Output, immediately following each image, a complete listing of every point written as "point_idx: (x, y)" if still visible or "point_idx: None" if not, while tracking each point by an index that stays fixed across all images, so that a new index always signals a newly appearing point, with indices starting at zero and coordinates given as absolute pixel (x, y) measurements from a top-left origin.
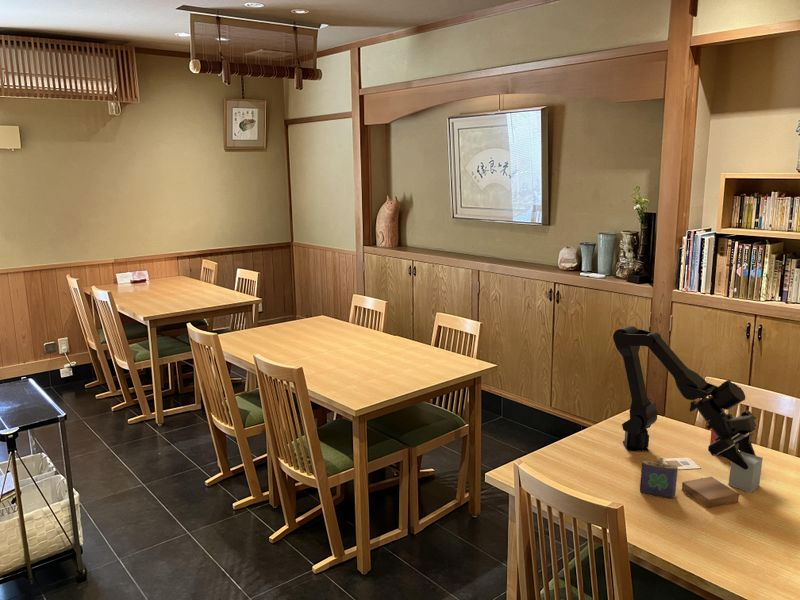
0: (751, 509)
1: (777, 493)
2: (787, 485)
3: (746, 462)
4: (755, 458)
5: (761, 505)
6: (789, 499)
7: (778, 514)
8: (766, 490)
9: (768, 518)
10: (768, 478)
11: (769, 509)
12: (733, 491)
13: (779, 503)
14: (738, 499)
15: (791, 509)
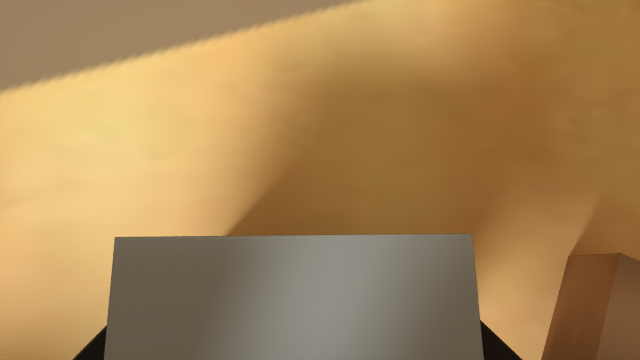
0: (581, 161)
1: (236, 124)
2: (51, 116)
3: (477, 354)
4: (231, 311)
5: (483, 138)
6: (264, 47)
7: (505, 36)
8: (247, 190)
9: (594, 59)
10: (21, 254)
11: (491, 89)
12: (625, 302)
13: (368, 72)
14: (586, 255)
15: (386, 4)
